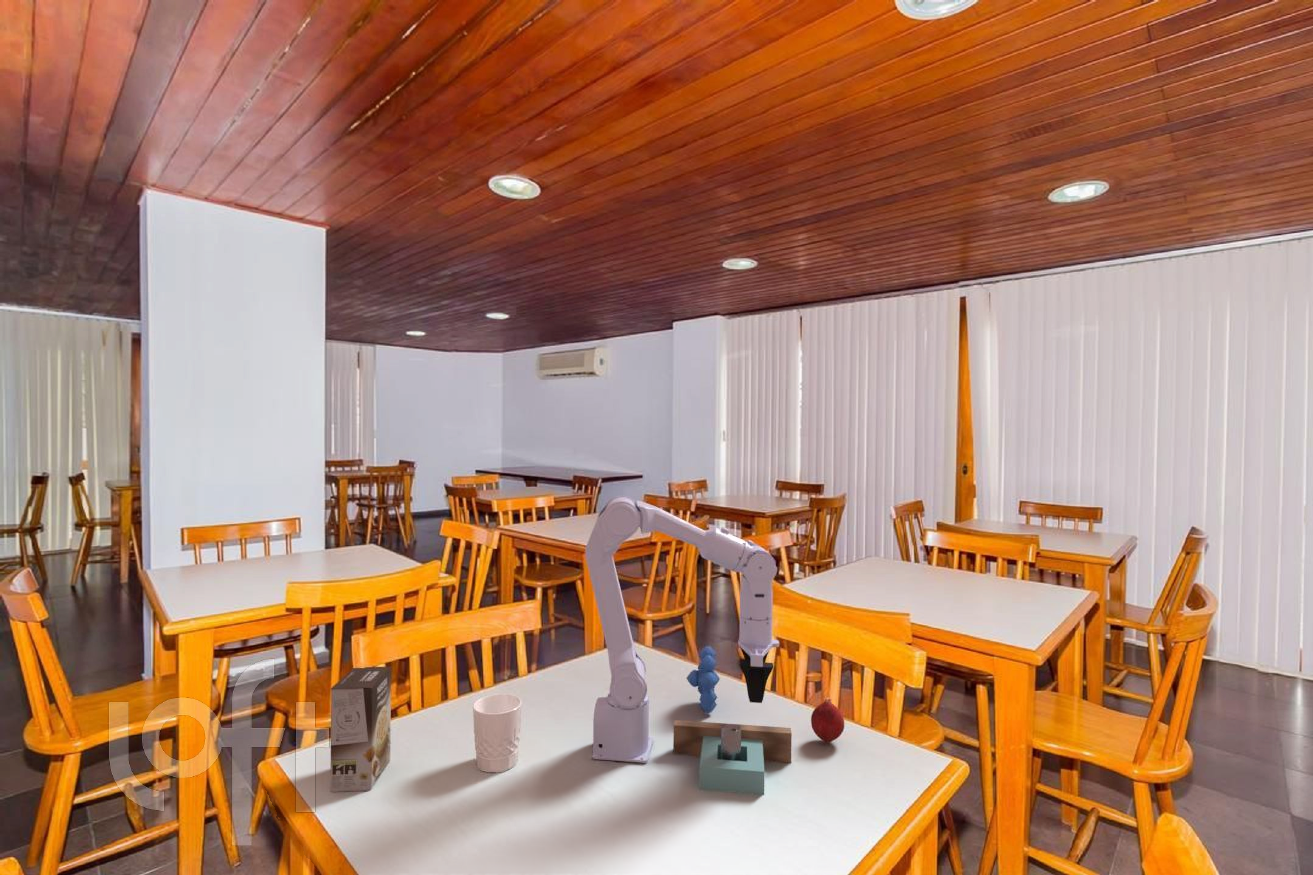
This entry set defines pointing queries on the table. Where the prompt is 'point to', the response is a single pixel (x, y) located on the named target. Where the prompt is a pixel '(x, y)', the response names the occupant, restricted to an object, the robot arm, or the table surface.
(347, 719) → the coffee box
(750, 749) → the block
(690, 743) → the wall
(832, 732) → the onion
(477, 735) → the white cup
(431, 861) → the table surface
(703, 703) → the grapes
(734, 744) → the dowel
